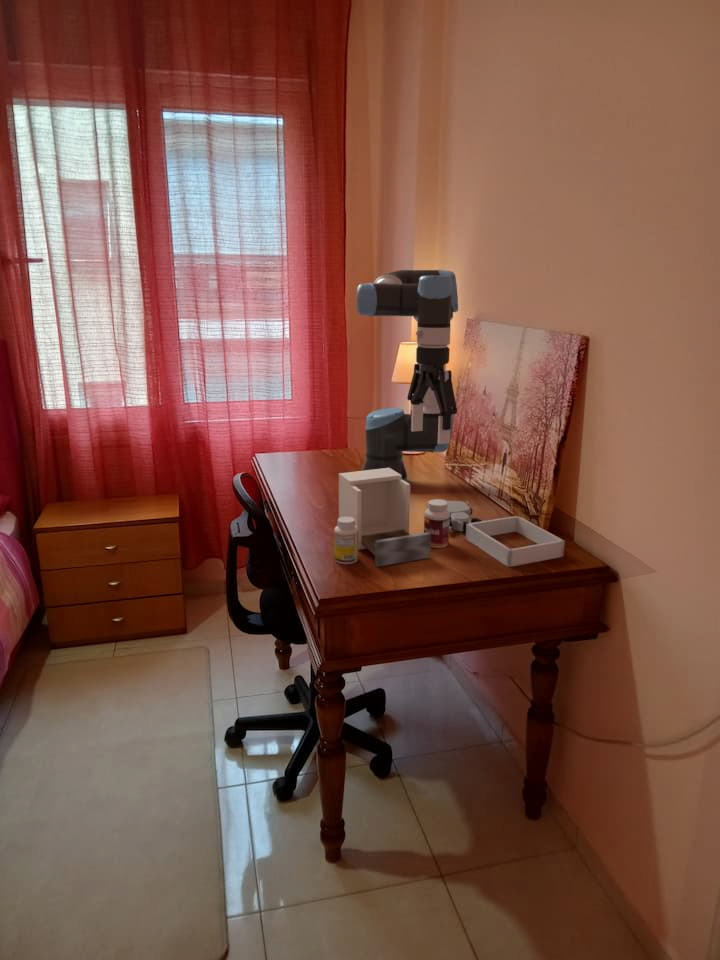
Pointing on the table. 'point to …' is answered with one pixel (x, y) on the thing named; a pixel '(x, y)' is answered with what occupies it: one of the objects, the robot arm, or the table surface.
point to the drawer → (397, 546)
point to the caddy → (375, 501)
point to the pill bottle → (437, 523)
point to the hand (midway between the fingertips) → (429, 437)
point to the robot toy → (459, 515)
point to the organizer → (544, 549)
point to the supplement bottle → (346, 541)
